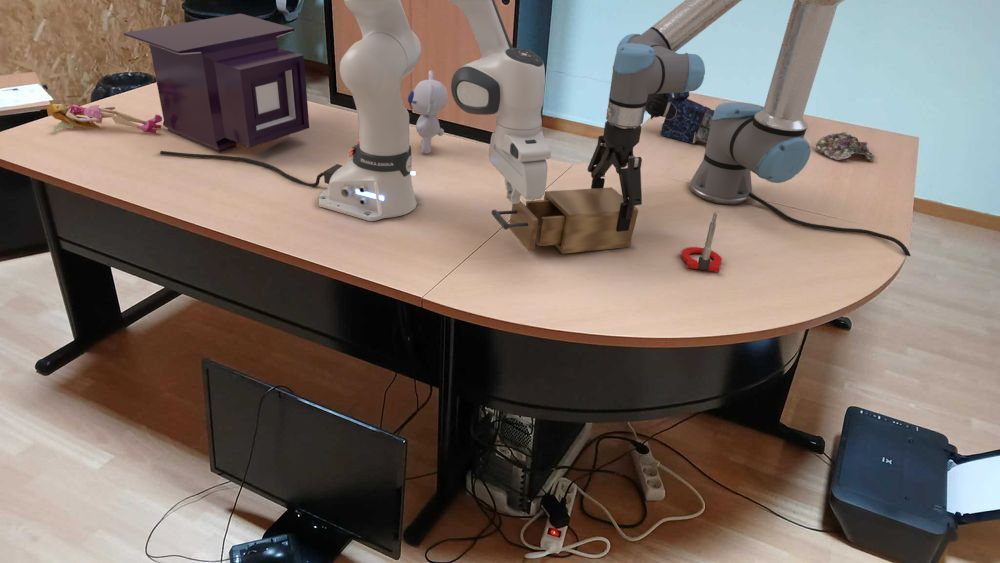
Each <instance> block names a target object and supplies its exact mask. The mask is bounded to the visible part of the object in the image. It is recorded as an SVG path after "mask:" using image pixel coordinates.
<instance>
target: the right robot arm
mask: <svg viewBox="0 0 1000 563" xmlns="http://www.w3.org/2000/svg"><path fill="white" fill-rule="evenodd" d="M742 1H743V0H684V1H683V2H681V3H680V4H678V5H677V6H676V7H674V8H673V9H672V10H670V11H669V12H668V13H667V14H666V15H665V16H663V17H662V18H661V19H660V20H658V21H656V23H654V24H653V25H651V27H650V28H648V29H646V30H645V31H644V32H642V33H641V34H640V33H630V34H626V35H625V36H624V37H622V39H621V40H620V41H619V43H618V44H617V47H616V51H615V52H616V53H615V56H614V61H613V65H612V75H611V81H610V87H609V95H608V104H607V109H606V117H605V119H606V121H605V122H604V128H603V129H604V130H603V134H602V135H598V139H597V144H596V147H595V150H594V151H593V154H592V157H591V158H590V161H589V164H588V166H587V172H588V173H590V177H591V185H590V189H593V188H605V181H606V179H605V177H606V173H607V172H608V171H609V169H610V168H611V166H612V165H613V167H614V168H615V173H616V174H618V177H619V184H620V190H621V196H623V203H621V205H620V211H619V217H618V222H617V228H616V231H617V232H621V231H628V230H629V226H630V221H631V218H632V214H633V209H634V206H635V207H636V206H641V205H642V204H643V198H642V174H641V173H642V172H641V168H642V162H643V159H642V157H641V156H635V155H634V148H635V146H637V145H638V144H639V143H640V139H641V134H642V125H643V123H644V118H645V114H646V113H645V107H646V101H647V97H648V94H659V93H684V92H689V93H690V92H694V91H697V90H698V89H699V88H701V86H702V85H703V82H704V79H705V74H706V68H705V63H704V62H705V61H704V60H703V58H702V57H701V56H700V55H698V54H696V53H688V52H685V53H678V52H677V51H679V50H680V49H681V48H683V47H684V46H685V45H686V44H688V43H689V42H690V41H692V40H693V39H694V38H696V37H697V36H698V35H699V34H701V33H702V32H703V31H704V30H706V29H707V28H708V27H709V26H711V25H712V24H714V23H715V22H716V21H717V20H719V19H720V18H721V17H722V16H723V15H725V14H727V13H728V12H729V11H730V10H732V9H733V8H734V7H735V6H737V5H738V4H739V3H740V2H742ZM844 1H845V0H793V2H792V6H791V9H790V13H789V17H788V21H787V24H786V27H785V31H784V34H783V39H782V42H781V45H780V49H779V52H778V56H777V59H776V62H775V67H774V69H773V70H774V71H773V74H772V77H771V81H770V85H769V88H768V91H767V95H766V99H765V102H764V106H762V105H759V104H755V103H750V102H741V101H740V102H738V101H731V102H722V103H720V104H718V105H716V107H715V108H714V114H713V118H712V119H711V125H710V130H709V135H708V140H707V142H706V145H705V150H704V154H703V159H702V161H701V163H700V165H699V166H698V168H697V169H696V171H695V173H694V174H693V176H692V179H691V181H690V184H689V189H690V191H691V193H693V194H694V196H696V197H698V198H700V199H702V200H704V201H707V202H710V203H713V204H717V205H726V206H727V205H729V206H734V205H742V204H745V203H747V202H749V201H750V199H751V198H752V199H754V200H755V201H757V202H758V203H760V204H761V205H763V206H765V207H766V208H768V209H770V210H771V211H773V212H775V213H776V214H777V215H779V216H780V217H781V218H784V219H785V220H787V221H789V222H791V223H793V224H797V225H800V226H804V227H808V228H814V229H820V230H828V231H835V232H841V233H858V234H864V235H865V234H866V235H870V236H873V237H877V238H881V239H883V240H887V241H891V242H892V243H895V245H898V246H899V247H900V249H901V250H902V251H903V253H904V255H905V256H907V257H911V256H912V255H911V253H910V251H909V249H908V247H907V246H906V245H905V244H904V243H903V242H902V241H901V240H899V239H897V238H895V237H893V236H891V235H887V234H884V233H880V232H876V231H873V230H868V229H864V228H863V229H862V228H852V227H851V228H849V227H838V226H832V225H824V224H817V223H811V222H806V221H802V220H799V219H797V218H794V217H791V216H790V215H788V214H785V213H784V212H783V211H781V210H780V209H778V208H776V207H775V206H773V205H772V204H770V203H769V202H767V201H766V200H764V199H762V198H761V197H758V196H757V195H756V194H753V193H752V192H753V186H752V174H751V173H754V174H755V175H756V176H757V177H758V178H760V179H763V180H766V181H768V182H769V183H772V184H773V183H774V184H780V183H785V182H788V181H790V180H792V179H793V178H795V176H797V175H798V174H799V173H800V172H801V171H802V170H804V168H805V167H806V165H807V164H808V162H809V160H810V157H811V153H812V152H811V151H812V149H811V148H812V147H811V146H810V143H809V141H808V140H807V139H806V138H805V134H806V131H807V129H808V123H807V122H806V120H805V119H804V115H805V110H806V108H807V104H808V102H809V99H810V96H811V92H812V89H813V86H814V82H815V79H816V76H817V73H818V70H819V66H820V63H821V60H822V56H823V53H824V50H825V47H826V43H827V40H828V37H829V34H830V31H831V27H832V24H833V21H834V18H835V15H836V11H837V8H838V6H839V5H840V4H842V3H843V2H844Z"/></svg>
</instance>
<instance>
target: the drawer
mask: <svg viewBox="0 0 1000 563" xmlns="http://www.w3.org/2000/svg"><path fill="white" fill-rule="evenodd" d="M511 204H512V203H511ZM490 214H491V216H492V217H493V218H494V220H496V222H497V223H498V224H499V225H500V226H501V227H502V228H503V230H505V231H506V230H510V231H511V232H512V233H513V235H514V236H515V237H516V239H518V241H519V242H520V243H521V244H522V245H523V246H524V247H525V249H526V250H527V251H528V252H533V251H535V246H536V245H537V246H538V247H546V246H547V247H548V246H555V245H558V244H562V239H563V233H564V228H565V222H566V216H565V215H564V214H563V213H562V212H561V211H560V210H559V209H558V208H557V207H556V206H555V205H554V204H553V203H552V202H551V201H550V200H544V199H535V200H526V201H525V204H524V203H523V202H522V201H521V200H520V203H518V204H512V205H511V210H499V211H498V210H496V209H492V210H491V211H490ZM503 215H504V216H505V215H510V220H509V223H508V222H507V220H506V219H505V218H504V217H503Z"/></svg>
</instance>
